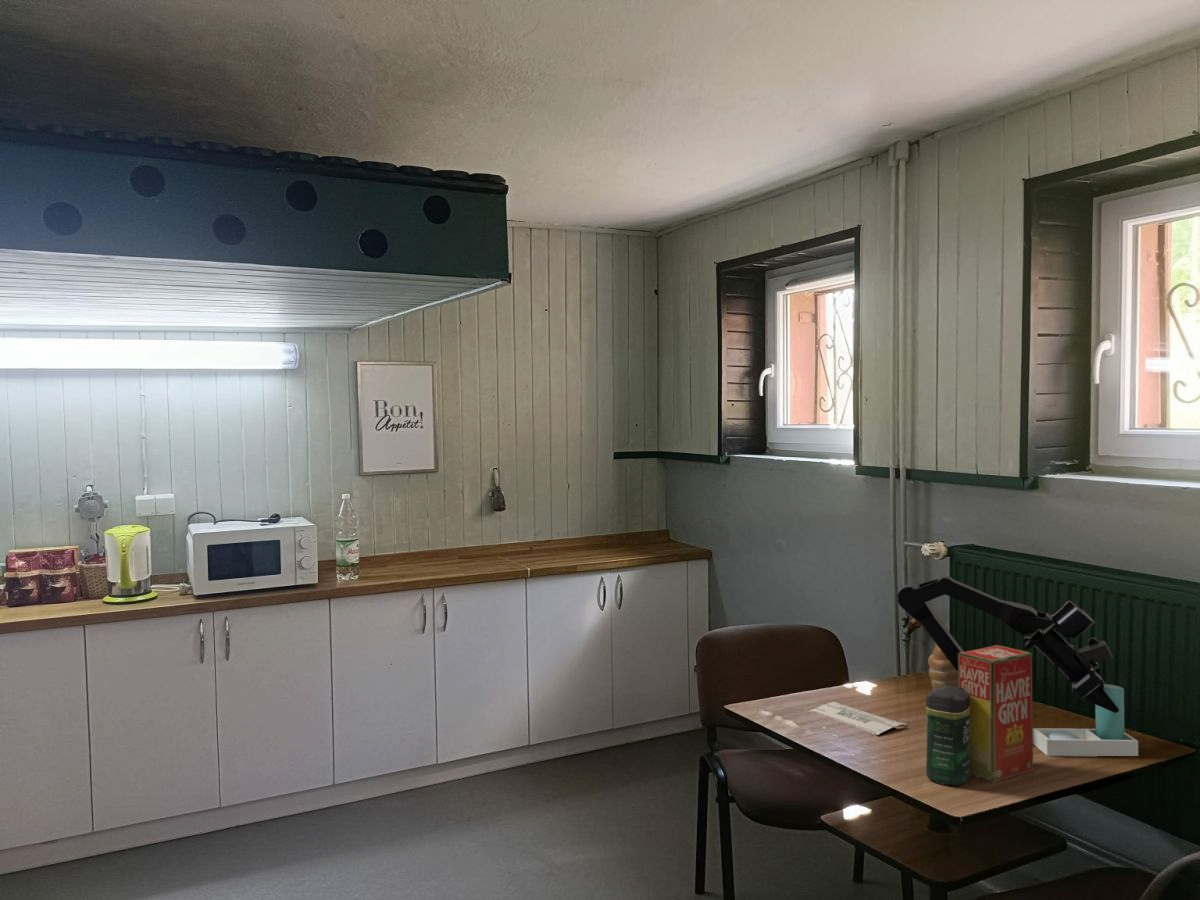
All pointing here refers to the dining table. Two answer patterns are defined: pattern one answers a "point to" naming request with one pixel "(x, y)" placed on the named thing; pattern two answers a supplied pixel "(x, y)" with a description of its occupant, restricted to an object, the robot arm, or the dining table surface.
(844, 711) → the newspaper
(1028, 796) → the dining table surface
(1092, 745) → the rack
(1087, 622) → the robot arm
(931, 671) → the cat ice cream
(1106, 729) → the teal rounded block
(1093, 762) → the dining table surface
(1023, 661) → the food packaging
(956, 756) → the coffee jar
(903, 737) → the dining table surface
